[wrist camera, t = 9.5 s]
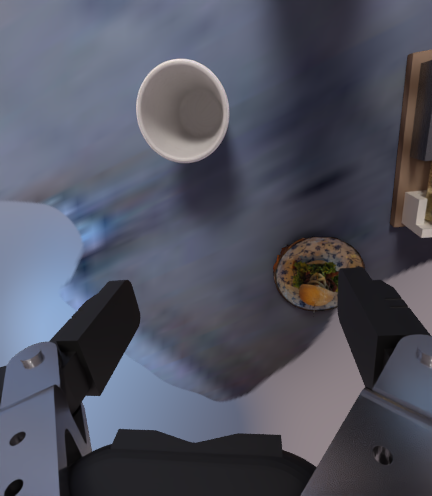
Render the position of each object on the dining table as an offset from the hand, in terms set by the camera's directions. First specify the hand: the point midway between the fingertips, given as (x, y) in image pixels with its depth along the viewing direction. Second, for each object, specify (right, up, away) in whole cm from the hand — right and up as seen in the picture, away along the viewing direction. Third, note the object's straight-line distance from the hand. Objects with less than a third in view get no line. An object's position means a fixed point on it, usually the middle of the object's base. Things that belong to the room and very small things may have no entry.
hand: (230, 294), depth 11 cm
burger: (+14, -1, +30) cm, 33 cm away
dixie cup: (-2, +18, +24) cm, 30 cm away
